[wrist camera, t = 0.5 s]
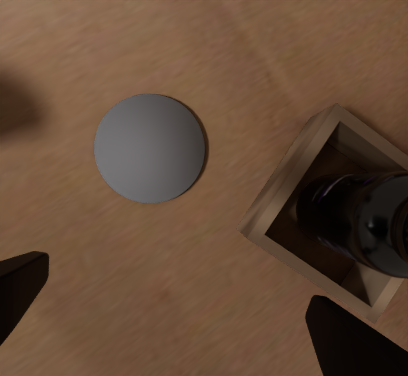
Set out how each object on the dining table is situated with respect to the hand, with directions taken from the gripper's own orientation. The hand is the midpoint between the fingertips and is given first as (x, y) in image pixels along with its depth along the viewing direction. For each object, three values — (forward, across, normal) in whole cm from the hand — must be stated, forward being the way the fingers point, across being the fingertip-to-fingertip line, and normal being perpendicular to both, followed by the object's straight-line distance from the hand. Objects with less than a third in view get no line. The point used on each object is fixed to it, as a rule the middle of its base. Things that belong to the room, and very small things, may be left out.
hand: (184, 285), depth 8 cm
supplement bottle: (+15, -13, 0) cm, 20 cm away
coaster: (+15, +4, -2) cm, 16 cm away
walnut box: (+14, -13, 0) cm, 20 cm away
